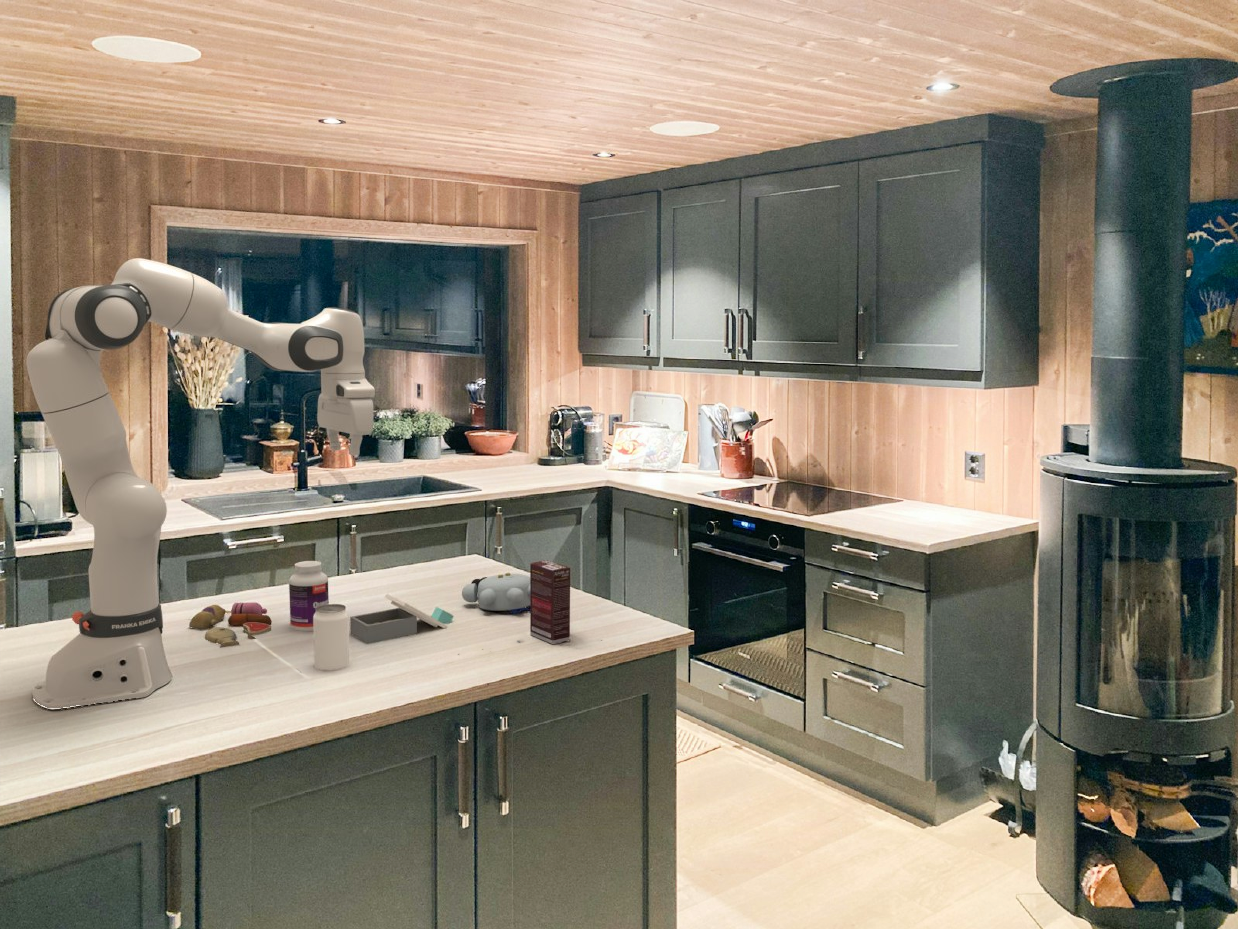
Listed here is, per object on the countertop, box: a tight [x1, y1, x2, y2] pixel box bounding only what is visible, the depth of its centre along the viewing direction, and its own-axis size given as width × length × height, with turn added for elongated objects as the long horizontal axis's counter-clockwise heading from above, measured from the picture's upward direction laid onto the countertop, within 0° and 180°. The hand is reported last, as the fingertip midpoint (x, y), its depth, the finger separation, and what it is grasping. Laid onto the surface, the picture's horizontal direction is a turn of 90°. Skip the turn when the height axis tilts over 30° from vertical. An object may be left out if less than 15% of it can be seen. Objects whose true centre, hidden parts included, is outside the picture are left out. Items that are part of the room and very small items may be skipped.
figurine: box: [461, 572, 530, 615], centre depth 238 cm, size 17×8×20 cm
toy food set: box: [188, 601, 273, 648], centre depth 219 cm, size 26×16×4 cm, turn 42°
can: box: [313, 603, 350, 671], centre depth 193 cm, size 6×6×12 cm
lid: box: [384, 593, 454, 629], centre depth 219 cm, size 14×9×4 cm
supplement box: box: [529, 559, 571, 645], centre depth 213 cm, size 9×5×16 cm, turn 39°
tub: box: [349, 607, 418, 645], centre depth 213 cm, size 11×8×4 cm
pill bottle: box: [288, 560, 330, 632], centre depth 218 cm, size 8×8×14 cm
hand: (344, 452), depth 212 cm, fingers open, 8 cm apart
